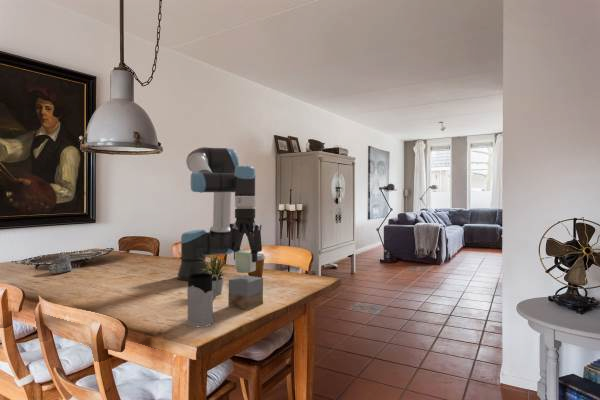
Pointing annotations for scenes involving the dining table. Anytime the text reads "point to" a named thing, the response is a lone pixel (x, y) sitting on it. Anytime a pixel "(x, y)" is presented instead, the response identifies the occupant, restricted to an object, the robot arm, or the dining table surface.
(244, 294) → the charcoal top block
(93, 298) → the dining table surface
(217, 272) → the house plant
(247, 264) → the pale green rounded cylinder
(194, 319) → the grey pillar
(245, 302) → the walnut base block
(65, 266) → the mineral rock
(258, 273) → the disposable coffee cup
